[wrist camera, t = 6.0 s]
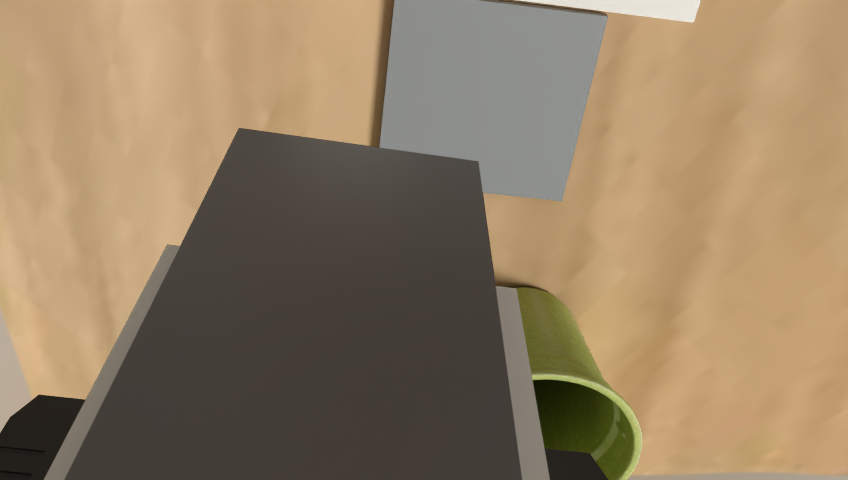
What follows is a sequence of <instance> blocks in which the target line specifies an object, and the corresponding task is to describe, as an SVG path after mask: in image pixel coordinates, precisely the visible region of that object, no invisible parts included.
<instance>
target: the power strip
mask: <svg viewBox="0 0 848 480" xmlns="http://www.w3.org/2000/svg"><path fill="white" fill-rule="evenodd" d="M519 1H527V2H535V3H543V4H551V5H559V6H567V7H575V8H582V9H590V10H598V11H606V12H614V13H622V14H630V15H638V16H646V17H654V18H662V19H670V20H678V21H686V22H694V20H695V17H696V14H697V10H698V7H699V4H700V1H701V0H519Z"/></svg>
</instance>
